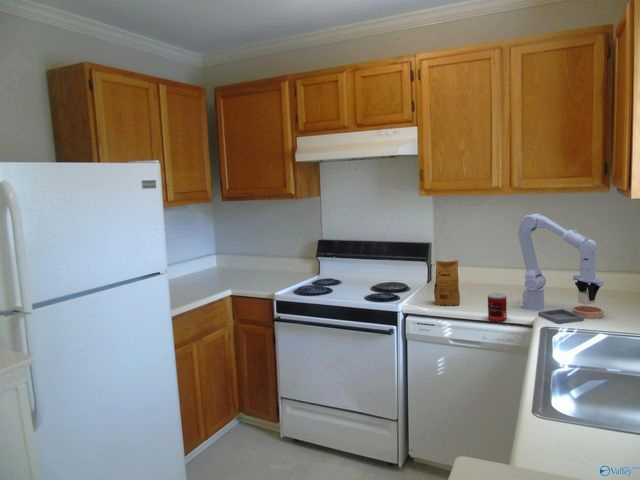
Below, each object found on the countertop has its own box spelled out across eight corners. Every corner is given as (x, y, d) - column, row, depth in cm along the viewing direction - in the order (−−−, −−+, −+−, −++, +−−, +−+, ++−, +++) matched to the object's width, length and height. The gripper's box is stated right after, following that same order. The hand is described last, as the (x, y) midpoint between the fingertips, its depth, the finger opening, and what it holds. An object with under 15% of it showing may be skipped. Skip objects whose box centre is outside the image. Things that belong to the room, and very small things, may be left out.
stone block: (578, 302, 208) (578, 292, 208) (587, 301, 210) (587, 290, 209) (585, 304, 204) (585, 294, 204) (595, 303, 206) (595, 292, 205)
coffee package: (434, 301, 248) (433, 259, 246) (459, 301, 245) (458, 258, 243) (434, 306, 239) (432, 262, 236) (460, 306, 236) (459, 262, 233)
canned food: (502, 316, 215) (501, 292, 214) (509, 321, 207) (509, 296, 206) (485, 317, 215) (484, 293, 214) (492, 322, 207) (491, 297, 206)
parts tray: (538, 317, 211) (538, 311, 211) (562, 314, 213) (562, 308, 213) (558, 325, 198) (558, 319, 198) (584, 322, 200) (584, 316, 200)
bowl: (566, 314, 212) (566, 307, 212) (589, 311, 215) (589, 304, 214) (585, 321, 201) (585, 314, 201) (609, 318, 203) (609, 311, 203)
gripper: (567, 266, 211) (567, 296, 213) (593, 271, 197) (593, 304, 199) (580, 264, 213) (580, 294, 215) (607, 270, 199) (607, 302, 201)
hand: (587, 299), depth 207 cm, fingers closed on stone block, 4 cm apart
